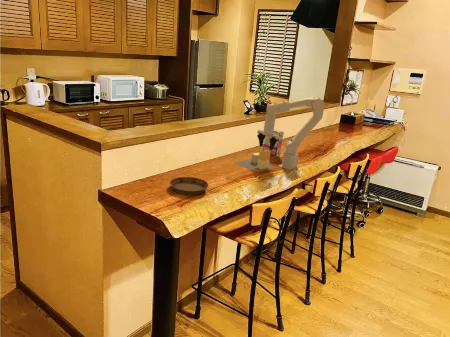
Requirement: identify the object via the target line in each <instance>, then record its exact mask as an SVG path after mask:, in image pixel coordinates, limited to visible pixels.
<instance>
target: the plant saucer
mask: <svg viewBox="0 0 450 337" xmlns="http://www.w3.org/2000/svg"><path fill="white" fill-rule="evenodd" d="M169 185H170V187H171V188H172V190H173V191H175V192H176V193H178V194H182V195H186V194H187V195H188V196H191V195H195V196H196V195H199V194H202V193H204V192H205V190H207V188H208V187H209V183H208V182H207V180H206V181H205V180H204V179H202V178H197V177H192V176H181V177H175V178H173V179H171V180H170V181H169Z"/></svg>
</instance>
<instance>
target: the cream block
mask: <svg viewBox="0 0 450 337" xmlns="http://www.w3.org/2000/svg"><path fill="white" fill-rule="evenodd" d="M269 164H270V159H269V160H265V161H262V160H259V159H258V164H257V168H259V169H266V168H268V167H269Z"/></svg>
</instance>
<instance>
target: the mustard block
mask: <svg viewBox="0 0 450 337" xmlns="http://www.w3.org/2000/svg"><path fill="white" fill-rule="evenodd" d="M258 153H259V158H258V159H259V160H262V161H265V160H269V161H270V159H271V156H270V153H271V151H269V150H263V149H261V150H259V151H258Z"/></svg>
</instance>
